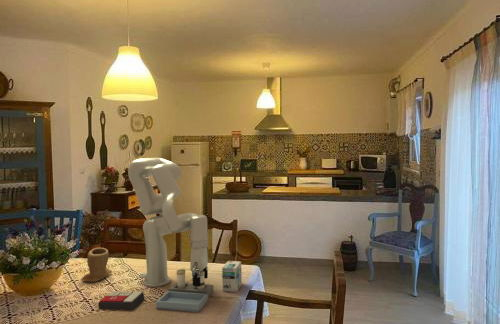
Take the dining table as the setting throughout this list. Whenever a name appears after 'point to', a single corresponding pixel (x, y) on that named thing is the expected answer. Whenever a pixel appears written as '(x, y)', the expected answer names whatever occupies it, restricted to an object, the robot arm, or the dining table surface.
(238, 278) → the light bulb box
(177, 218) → the robot arm
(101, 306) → the calculator
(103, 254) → the stone cup
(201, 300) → the parts tray
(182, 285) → the fuse
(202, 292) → the block
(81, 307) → the dining table surface
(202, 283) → the cylinder
